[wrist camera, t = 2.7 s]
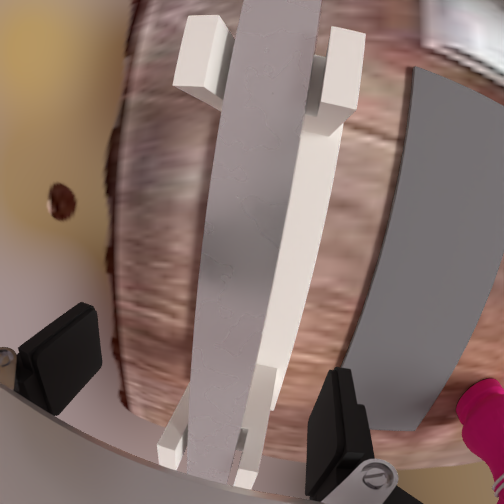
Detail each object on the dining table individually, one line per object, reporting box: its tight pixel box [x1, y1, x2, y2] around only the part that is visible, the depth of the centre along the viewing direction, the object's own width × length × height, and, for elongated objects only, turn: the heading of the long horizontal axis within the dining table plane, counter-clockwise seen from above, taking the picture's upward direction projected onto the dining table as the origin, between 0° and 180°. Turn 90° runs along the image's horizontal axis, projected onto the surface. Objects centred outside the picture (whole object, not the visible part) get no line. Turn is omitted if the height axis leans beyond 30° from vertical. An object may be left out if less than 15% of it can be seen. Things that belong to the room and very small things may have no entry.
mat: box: [341, 66, 504, 431], centre depth 22 cm, size 34×12×1 cm, turn 171°
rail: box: [187, 0, 322, 484], centre depth 14 cm, size 30×3×2 cm, turn 170°
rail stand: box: [157, 15, 366, 490], centre depth 18 cm, size 30×8×12 cm, turn 171°
